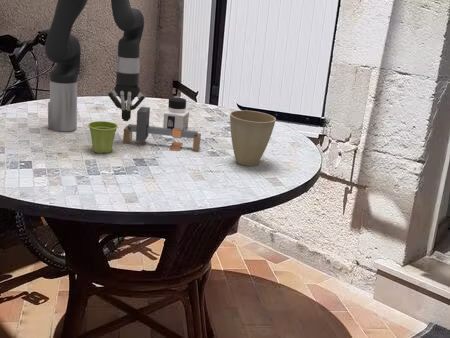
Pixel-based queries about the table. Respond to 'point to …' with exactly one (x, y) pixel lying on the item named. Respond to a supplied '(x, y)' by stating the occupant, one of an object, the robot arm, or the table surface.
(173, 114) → the container
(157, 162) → the table surface
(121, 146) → the table surface
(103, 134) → the plant pot
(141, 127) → the collar
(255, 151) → the plant pot
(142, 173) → the table surface
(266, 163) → the table surface
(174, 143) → the rail
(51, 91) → the robot arm
